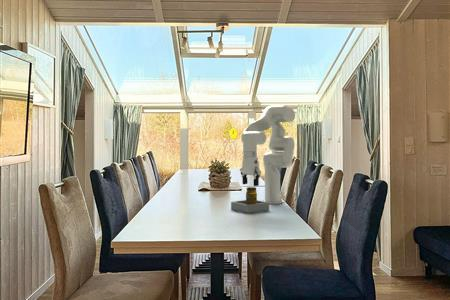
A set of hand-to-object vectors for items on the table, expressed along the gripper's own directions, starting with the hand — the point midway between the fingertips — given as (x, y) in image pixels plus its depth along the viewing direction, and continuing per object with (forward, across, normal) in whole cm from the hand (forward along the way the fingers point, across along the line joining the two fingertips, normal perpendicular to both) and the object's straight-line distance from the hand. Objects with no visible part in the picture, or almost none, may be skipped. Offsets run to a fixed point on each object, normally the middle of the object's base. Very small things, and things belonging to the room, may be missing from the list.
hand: (250, 184), depth 226 cm
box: (+14, 0, +1) cm, 14 cm away
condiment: (+14, 0, +1) cm, 14 cm away
